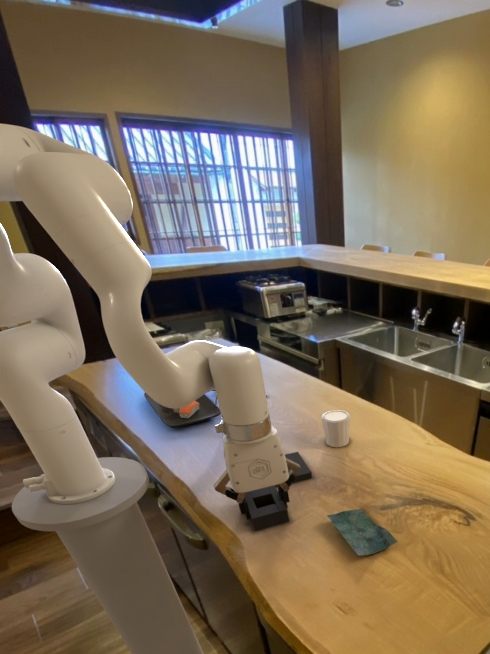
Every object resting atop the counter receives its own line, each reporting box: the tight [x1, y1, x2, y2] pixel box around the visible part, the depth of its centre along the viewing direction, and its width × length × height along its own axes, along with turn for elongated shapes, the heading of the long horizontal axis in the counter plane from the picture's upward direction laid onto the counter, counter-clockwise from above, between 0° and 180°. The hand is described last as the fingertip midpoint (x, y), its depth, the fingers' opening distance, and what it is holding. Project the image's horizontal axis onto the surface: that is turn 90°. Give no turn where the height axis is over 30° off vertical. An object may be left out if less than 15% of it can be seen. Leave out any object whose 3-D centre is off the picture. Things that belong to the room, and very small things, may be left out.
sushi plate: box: [143, 389, 267, 428], centre depth 123 cm, size 29×30×4 cm
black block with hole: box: [245, 485, 290, 532], centre depth 82 cm, size 6×9×3 cm
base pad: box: [275, 451, 313, 488], centre depth 92 cm, size 14×10×4 cm
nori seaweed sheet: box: [326, 508, 399, 557], centre depth 77 cm, size 13×8×2 cm, turn 32°
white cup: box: [321, 409, 351, 448], centre depth 103 cm, size 7×7×7 cm
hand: (265, 509), depth 82 cm, fingers closed on black block with hole, 6 cm apart
